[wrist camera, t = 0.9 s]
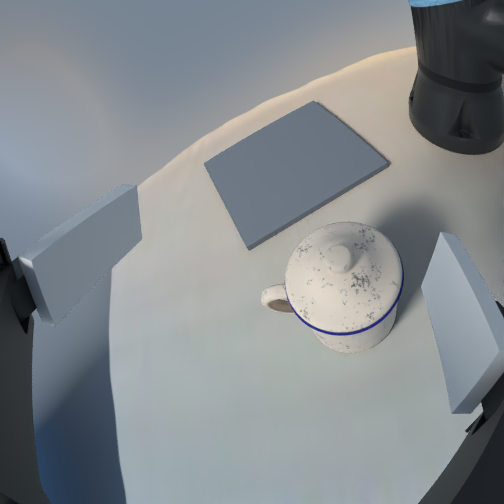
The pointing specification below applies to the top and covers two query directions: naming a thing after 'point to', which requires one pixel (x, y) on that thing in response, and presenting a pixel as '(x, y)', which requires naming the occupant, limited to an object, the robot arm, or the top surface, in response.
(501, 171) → the top surface
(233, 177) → the charcoal mat
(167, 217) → the top surface
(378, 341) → the teacup with lid
